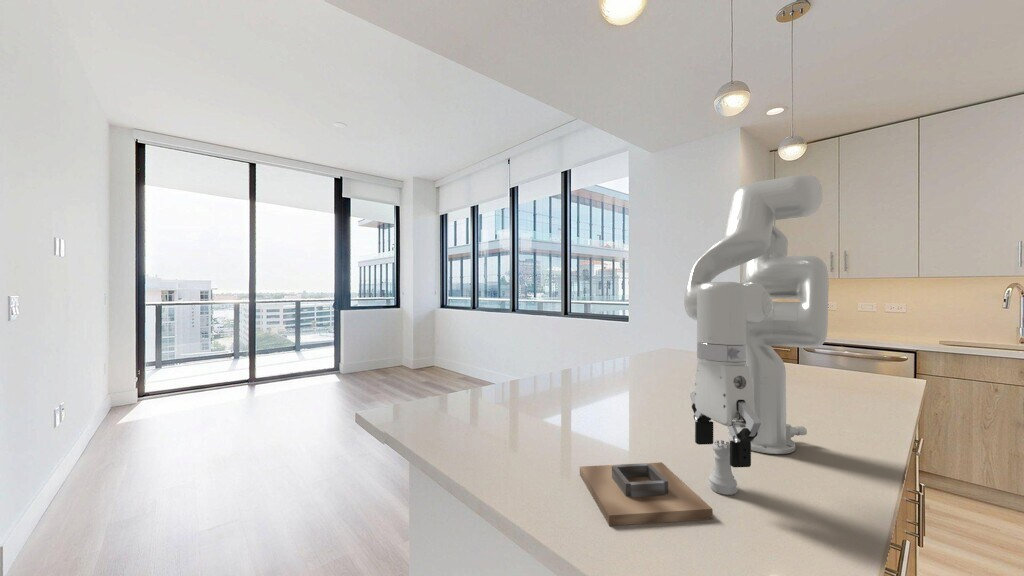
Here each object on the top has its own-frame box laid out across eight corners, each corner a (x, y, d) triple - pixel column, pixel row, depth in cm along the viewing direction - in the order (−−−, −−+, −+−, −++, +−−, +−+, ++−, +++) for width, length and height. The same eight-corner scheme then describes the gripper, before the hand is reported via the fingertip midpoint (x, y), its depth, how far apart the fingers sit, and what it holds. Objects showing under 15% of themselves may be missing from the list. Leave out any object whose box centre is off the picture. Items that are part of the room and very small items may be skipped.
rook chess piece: (703, 483, 70) (702, 438, 70) (727, 482, 70) (726, 437, 70) (718, 497, 65) (717, 448, 65) (743, 495, 65) (743, 447, 66)
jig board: (661, 470, 75) (661, 451, 75) (712, 518, 59) (712, 495, 59) (579, 474, 73) (579, 455, 73) (609, 525, 57) (608, 501, 57)
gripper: (780, 361, 59) (780, 476, 59) (711, 347, 76) (711, 436, 76) (733, 361, 59) (733, 477, 58) (674, 347, 76) (674, 437, 75)
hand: (721, 454), depth 67 cm, fingers open, 9 cm apart
